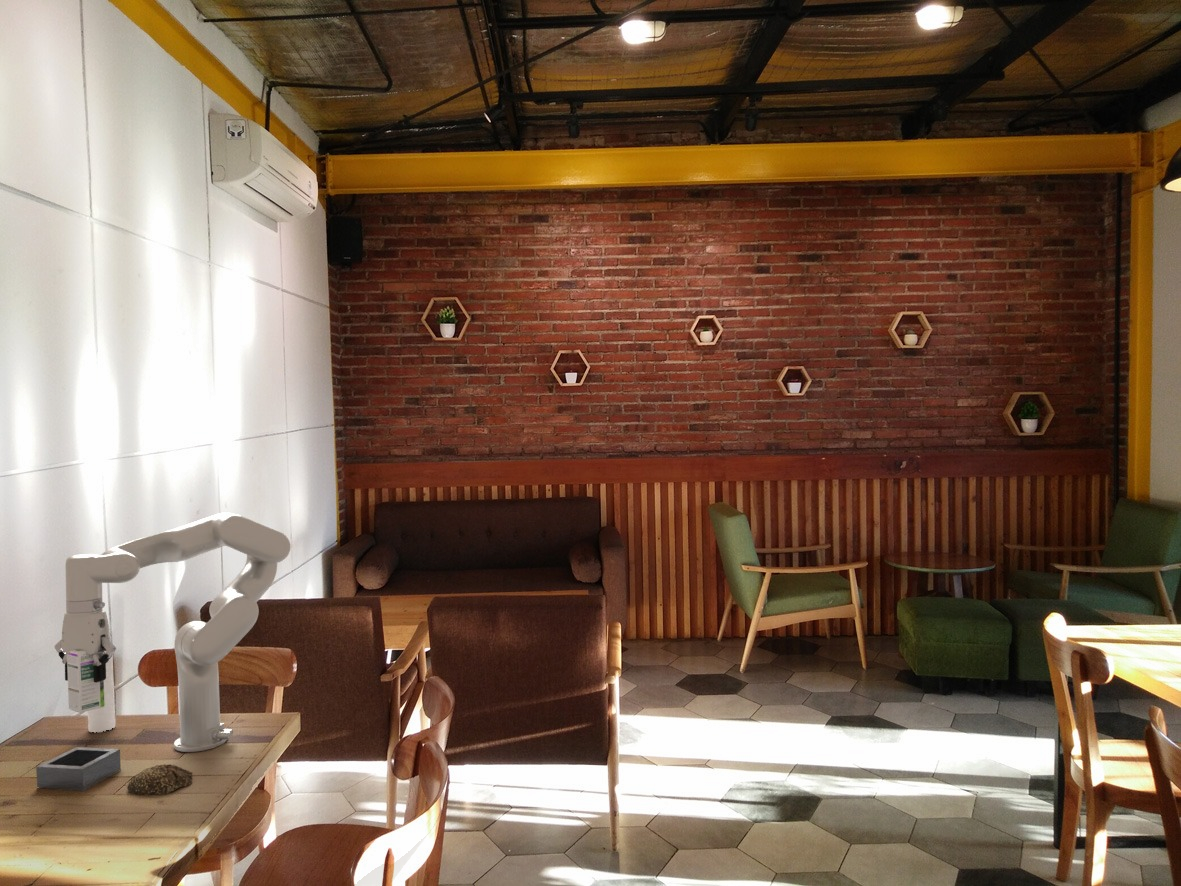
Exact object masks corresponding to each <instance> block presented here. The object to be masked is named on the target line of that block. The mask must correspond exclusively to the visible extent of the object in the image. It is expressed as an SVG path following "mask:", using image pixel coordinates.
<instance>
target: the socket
mask: <svg viewBox="0 0 1181 886" xmlns="http://www.w3.org/2000/svg"><path fill="white" fill-rule="evenodd" d="M35 769H36V772H35V773H36V787H39V788H38V789H40V788H48V789H47V790H57V789H62V790H63V791H75V792H76V791H77V792H78V791H79V792H84V791H86V790H87V789H89V788H91V787H93V786H94V784H95V785H96V783H97V784H99V783H100V782H102V781H103V780H106V779H107V778H109V777H111V776H112V775H114V774H116V773H118V772H119V770H120V771H121V770H122V766H121V749H119V748H102V747H99V748H98V747H84V746H79V747H78V746H76V747H75V746H74V747H73V748H71V749H69V750H67V751H65V752H64V753H61V754H59V755H57V756H56V757H55V756H54V757H53V758H51V759H50V760H47V761H45V762H43V763H41V764H39V765H37V766H36V767H35ZM110 775H111V776H110ZM49 788H50V789H49ZM62 790H61V791H62Z"/></svg>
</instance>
